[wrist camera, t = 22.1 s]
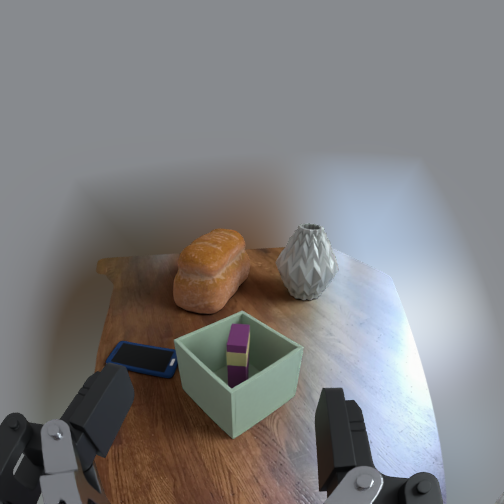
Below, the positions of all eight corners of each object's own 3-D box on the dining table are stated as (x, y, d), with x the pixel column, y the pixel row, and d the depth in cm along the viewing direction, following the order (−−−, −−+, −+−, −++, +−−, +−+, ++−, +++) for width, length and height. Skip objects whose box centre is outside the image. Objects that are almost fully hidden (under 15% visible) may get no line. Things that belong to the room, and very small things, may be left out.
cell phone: (172, 379, 45) (171, 376, 44) (105, 364, 46) (104, 361, 45) (183, 353, 51) (182, 350, 51) (120, 342, 52) (119, 339, 52)
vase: (261, 291, 76) (264, 224, 70) (301, 275, 87) (306, 215, 80) (308, 316, 65) (318, 241, 59) (345, 294, 75) (355, 229, 69)
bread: (168, 307, 67) (162, 249, 61) (212, 268, 90) (211, 221, 85) (219, 320, 63) (217, 257, 58) (253, 274, 87) (255, 225, 81)
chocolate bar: (232, 379, 45) (231, 323, 41) (248, 381, 45) (250, 324, 40) (228, 401, 40) (226, 344, 36) (245, 403, 40) (246, 346, 36)
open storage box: (242, 358, 51) (242, 310, 48) (295, 395, 42) (303, 347, 39) (182, 388, 43) (173, 339, 39) (232, 439, 34) (230, 393, 30)
